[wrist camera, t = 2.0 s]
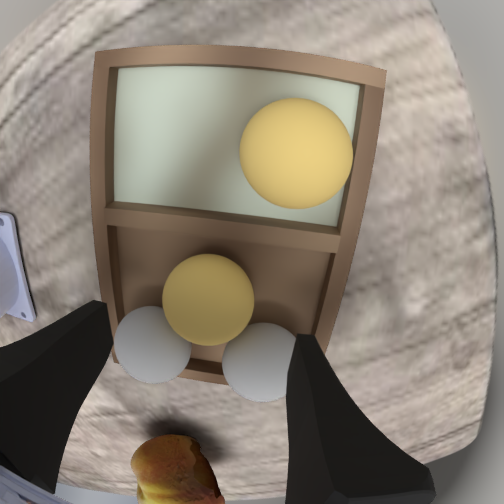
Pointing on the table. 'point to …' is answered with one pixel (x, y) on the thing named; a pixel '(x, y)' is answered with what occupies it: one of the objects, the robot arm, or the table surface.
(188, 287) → the ochre ball
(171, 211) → the sorting board
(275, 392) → the grey ball
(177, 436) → the fruit
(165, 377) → the grey ball
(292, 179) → the ochre ball
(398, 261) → the table surface
